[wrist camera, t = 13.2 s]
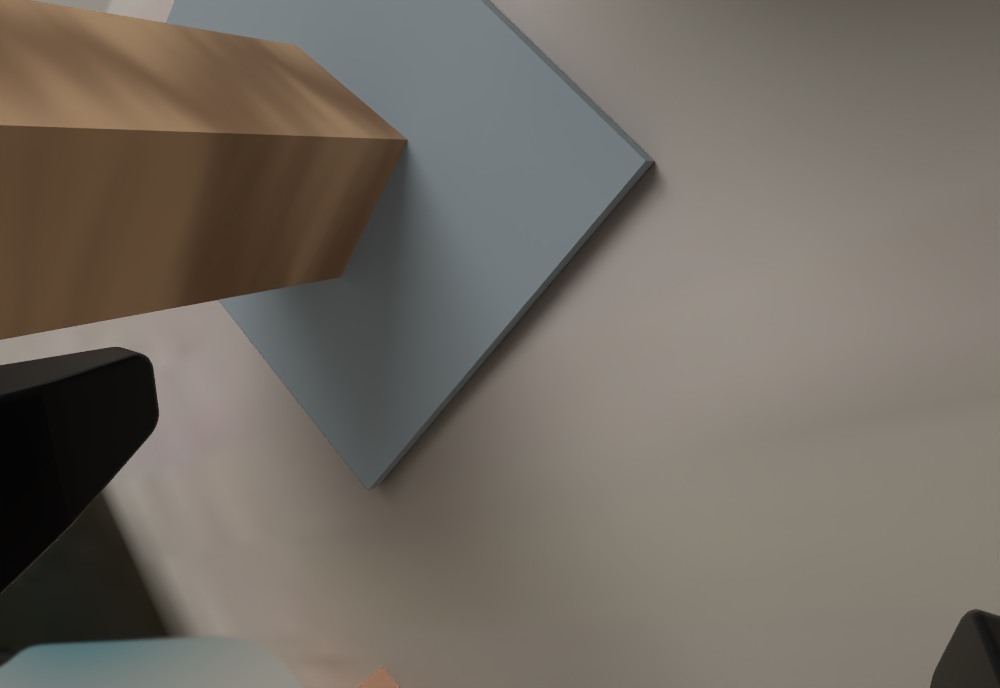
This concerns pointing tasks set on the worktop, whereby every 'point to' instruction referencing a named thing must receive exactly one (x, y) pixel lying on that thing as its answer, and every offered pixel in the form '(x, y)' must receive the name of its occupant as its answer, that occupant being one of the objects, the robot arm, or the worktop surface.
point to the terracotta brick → (380, 680)
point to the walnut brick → (170, 167)
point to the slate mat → (430, 209)
